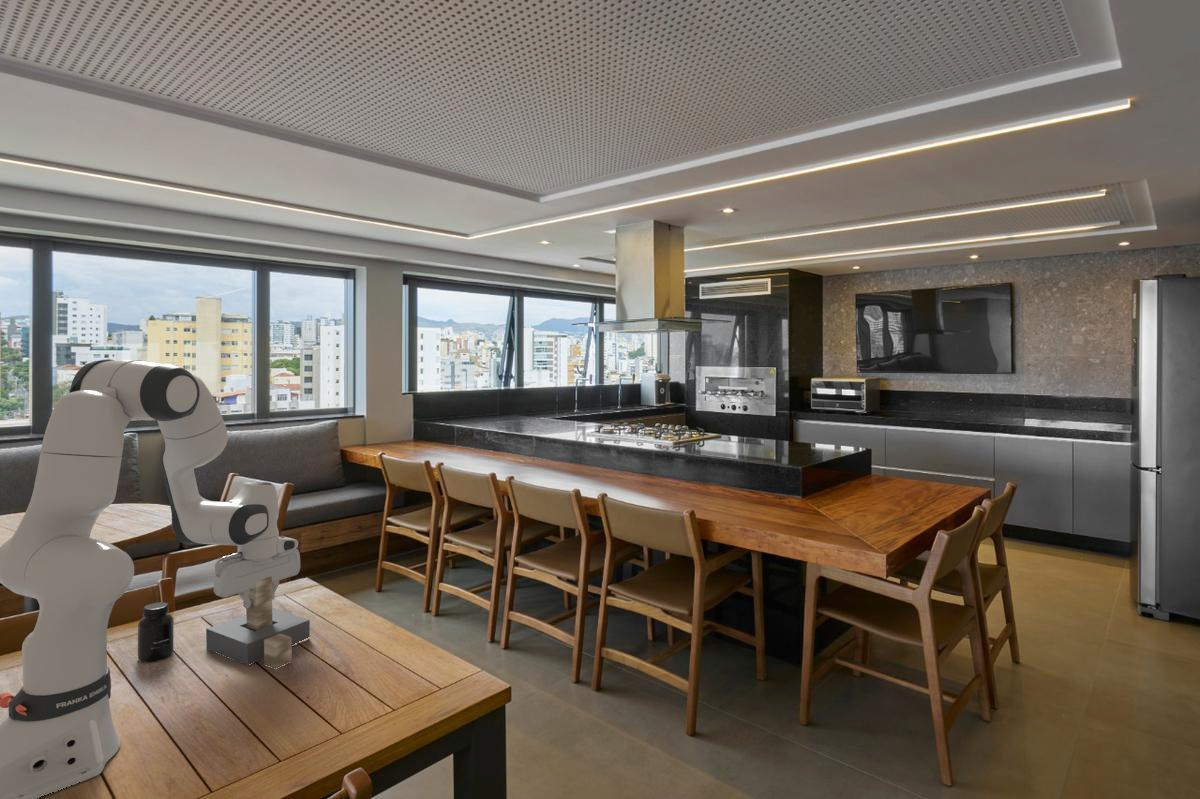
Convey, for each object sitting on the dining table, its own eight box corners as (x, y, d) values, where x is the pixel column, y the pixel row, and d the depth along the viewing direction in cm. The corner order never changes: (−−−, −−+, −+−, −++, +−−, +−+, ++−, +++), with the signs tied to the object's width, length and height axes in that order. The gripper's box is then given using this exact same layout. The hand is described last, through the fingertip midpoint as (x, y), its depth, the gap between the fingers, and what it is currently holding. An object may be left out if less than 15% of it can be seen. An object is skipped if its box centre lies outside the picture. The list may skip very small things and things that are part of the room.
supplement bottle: (160, 663, 145) (159, 612, 144) (130, 662, 145) (129, 611, 144) (180, 650, 152) (179, 600, 151) (152, 649, 152) (151, 599, 151)
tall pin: (256, 630, 153) (256, 581, 152) (246, 627, 155) (245, 578, 154) (272, 624, 156) (271, 576, 156) (262, 621, 158) (261, 573, 158)
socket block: (247, 665, 145) (247, 644, 145) (206, 649, 153) (206, 628, 152) (309, 639, 159) (309, 619, 159) (269, 625, 167) (268, 606, 166)
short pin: (275, 670, 143) (275, 643, 143) (264, 665, 145) (264, 639, 145) (291, 662, 147) (291, 637, 147) (280, 658, 149) (280, 633, 148)
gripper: (223, 561, 144) (224, 621, 145) (304, 539, 162) (304, 592, 163) (207, 556, 147) (208, 615, 148) (287, 535, 165) (288, 588, 166)
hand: (259, 603), depth 155 cm, fingers closed on tall pin, 4 cm apart
